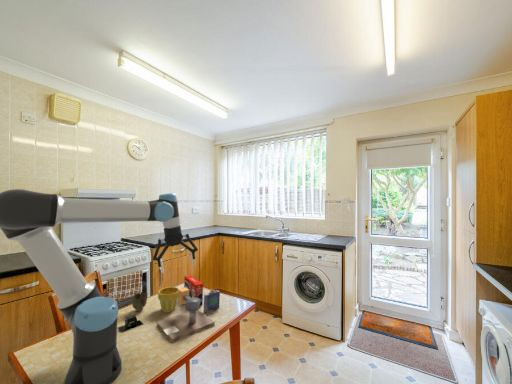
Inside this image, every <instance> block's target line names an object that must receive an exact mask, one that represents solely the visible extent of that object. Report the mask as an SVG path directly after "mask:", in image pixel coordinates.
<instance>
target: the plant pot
mask: <svg viewBox="0 0 512 384" xmlns="http://www.w3.org/2000/svg"><path fill="white" fill-rule="evenodd" d="M178 289H180V288H179V287H175V286H168V287H163V288H161V289H159V290H158V292H157V298H158V300H159V303H160V308H161V311H162V312H163V313H169V312H172V311H174V310H176V305H177V303H178Z"/></svg>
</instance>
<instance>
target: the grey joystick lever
mask: <svg viewBox="0 0 512 384" xmlns="http://www.w3.org/2000/svg"><path fill="white" fill-rule="evenodd" d="M177 303H178V304H180V305H185V306H186V307H185V308H186V309H185V310H186V312H189V311H196V310H200V307H201V306H200V299H199V298H191V297H189V289H187V288H186V287H185V288H184V287H182V288H179V289H178V298H177Z"/></svg>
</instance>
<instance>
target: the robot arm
mask: <svg viewBox="0 0 512 384" xmlns="http://www.w3.org/2000/svg"><path fill="white" fill-rule="evenodd" d="M117 222H119V223H120V222H121V223H122V222H125V223H126V222H161V223H162V227H163V233H164V238H160V237H159V238H158V239H157V246H156V248H155V252H154V253H153V256H152V261H157V266H158V268H160V269H161V275H165V269H164V262H163V256H164V255H165V254H166V251H167V250H168V249H169V247H175V246H179V245H181V246H183V248H185V249H187V251H189V255H190V262H191V267H192V268H194V266H195V265H194V260H195V259H196V254H195V253H196V252H198V250H199V249H198V247H197V246H196V244H195V243H194V241H193V240H192V239H191V238H190V235H189V233H188V232H186V233H185V234H183V233H182V228H181V227H182V226H181V219H180V214H179V205H178V197H177V195H176V193H174V192H173V193H172V192H171V193H170V192H169V193H163V194H159V196H158V198H157V199H155V200H147V201H146V200H145V201H142V200H140V201H138V200H121V199H119V200H117V199H99V198H98V199H97V198H96V199H94V198H72V197H71V198H70V197H62V196H61V195H59V194H58V193H57V194H56V193H54V194H53V193H43V192H37V191H33V190H27V189H21V188H16V189H15V188H13V189H7V190H5V191H2V192H0V230H1V231H2V233H3V234H4V235H5V237H6V238H7V239H8V241H15V242H18V243H19V245H20V246H21V247H22V249H23V250H24V252H25V253H26V255H27V256H28V258H29V259H30V260H31V261H32V263H33V264H34V266H35V267H36V269H37V270H38V271H39V273H40V274H41V276H42V277H43V278H44V280H45V281H46V282H47V283H48V286H49V287H50V288H51V289H52V291H53V292H54V294H55V295H56V296H57V298H58V299H59V300H58V302H57V304H56V307H57V308H58V310H59V311H60V313H61V314H62V315H63V317H64V319H66V321H67V323H68V325H69V326H70V329H71V331H72V335H73V343H72V344H73V346H72V347H73V349H72V360H71V361H70V364H69V365H70V366H69V367H68V370H67V373H66V375H65V378H64V382H63V384H112V383H113V382H114V381H116V379H117V378H118V377H119V376H120V374H121V372H122V368H123V367H122V363H123V362H122V358H121V355H120V352H119V350H118V347H117V339H118V334H117V333H118V316H119V307H118V302H117V301H116V299H114V298H112V297H110V296H109V297H107V296H102V293H101V292H100V291H99V289H98V287H97V285H96V284H95V283H94V282H87V280H86V279H85V276H84V275H83V274H82V272H81V271H80V269H79V267H78V266H77V265H76V263H75V262H74V260H73V258H72V256H71V255H70V254H69V252H68V251H67V249H66V247H65V246H64V244H63V243H62V241H61V240H60V238H59V237H58V235H57V234H56V231H54V229H53V228H52V227H56V226H58V225H60V224H64V223H65V224H69V223H72V224H73V223H74V224H76V223H117ZM183 239H186V240H187V241H188V243H189V244H190V245H191V246H189V245H188V244H187V243H185V242H184V241H183ZM163 242H165V243H166V244H165V246H164V247H163V248H162V250H161V251H160V253H159V250H160V249H161V245H162V244H163Z"/></svg>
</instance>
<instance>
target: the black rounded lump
mask: <svg viewBox="0 0 512 384" xmlns="http://www.w3.org/2000/svg"><path fill="white" fill-rule="evenodd" d="M143 325H144V323H143V322H142V321H141V320H140V319H138V318H137V316H136V315H135V314H131V315H130V316H126V317H125V319H124V325H121V326H117V331H119V332H120V333H124V332H127V331H129V330H133V329H136V328H137V327H138V328H139V327H140V326H143Z"/></svg>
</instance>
